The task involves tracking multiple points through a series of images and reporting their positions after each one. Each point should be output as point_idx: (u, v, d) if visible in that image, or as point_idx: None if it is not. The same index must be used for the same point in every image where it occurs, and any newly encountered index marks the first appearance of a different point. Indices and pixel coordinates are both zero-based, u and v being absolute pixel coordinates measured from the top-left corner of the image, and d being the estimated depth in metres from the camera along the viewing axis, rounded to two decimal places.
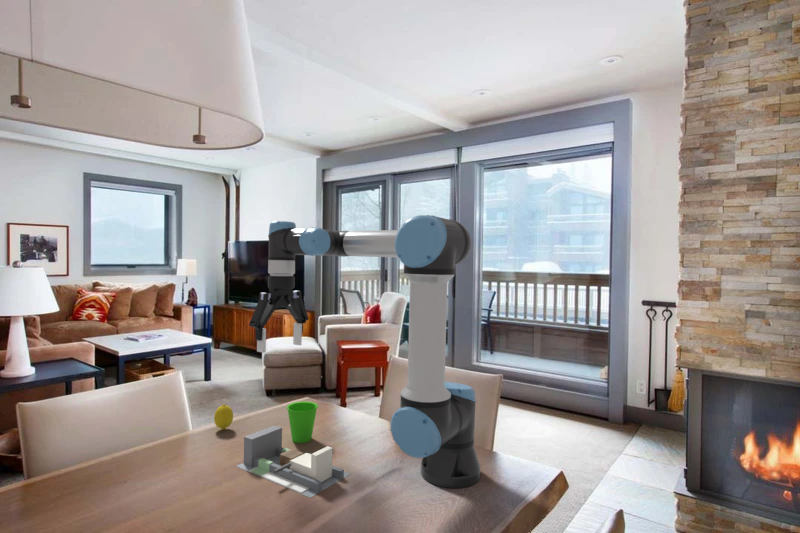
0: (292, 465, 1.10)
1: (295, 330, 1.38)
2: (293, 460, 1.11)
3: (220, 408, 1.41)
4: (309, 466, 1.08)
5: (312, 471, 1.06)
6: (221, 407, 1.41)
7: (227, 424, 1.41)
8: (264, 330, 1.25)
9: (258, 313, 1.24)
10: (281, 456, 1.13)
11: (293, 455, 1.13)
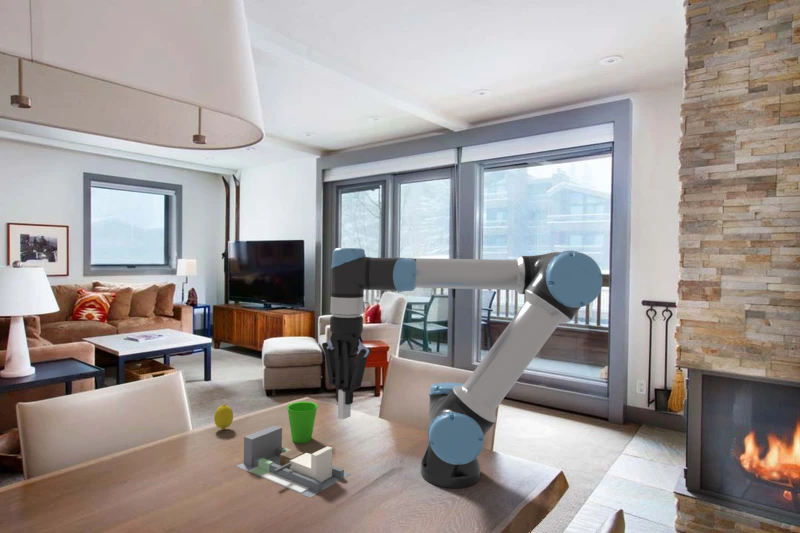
0: (292, 465, 1.10)
1: None
2: (293, 460, 1.11)
3: (220, 408, 1.41)
4: (309, 466, 1.08)
5: (312, 471, 1.06)
6: (221, 407, 1.41)
7: (227, 424, 1.41)
8: (339, 391, 1.04)
9: None
10: (281, 456, 1.13)
11: (293, 455, 1.13)
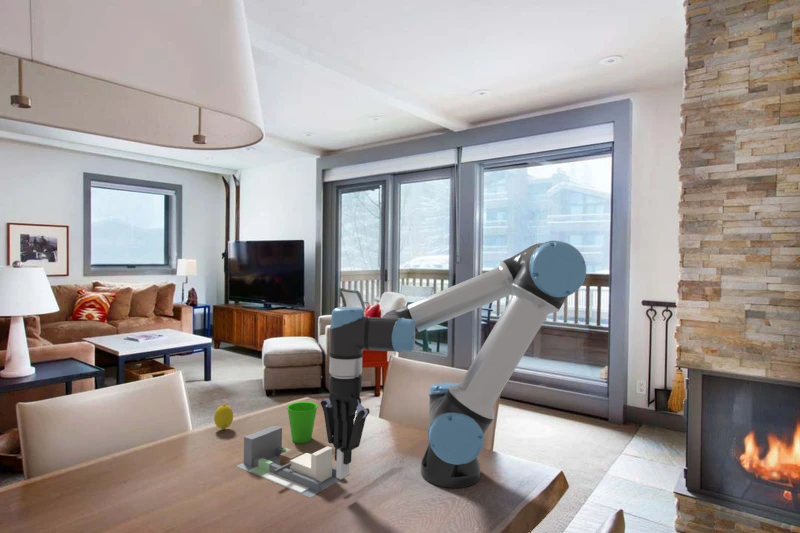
0: (292, 465, 1.10)
1: None
2: (293, 460, 1.11)
3: (220, 408, 1.41)
4: (309, 466, 1.08)
5: (312, 471, 1.06)
6: (221, 407, 1.41)
7: (227, 424, 1.41)
8: (337, 451, 1.04)
9: None
10: (281, 456, 1.13)
11: (293, 455, 1.13)
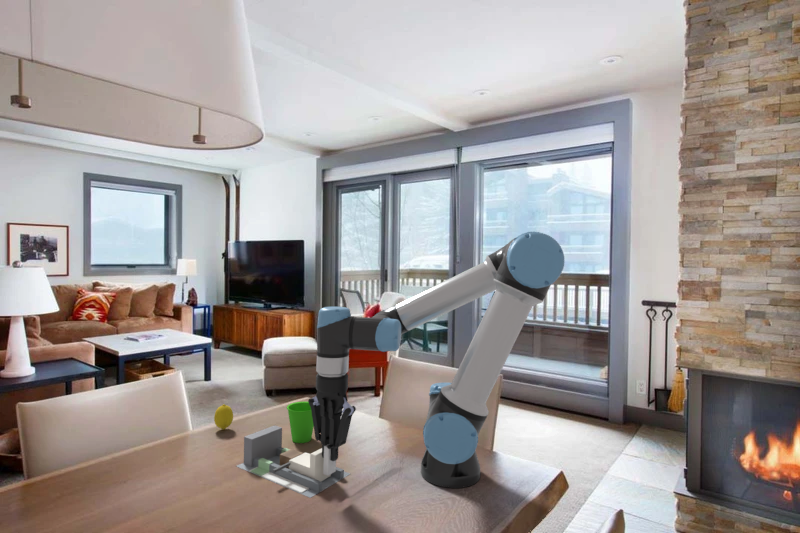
0: (291, 465, 1.10)
1: None
2: (292, 460, 1.11)
3: (220, 408, 1.41)
4: (308, 466, 1.08)
5: (311, 470, 1.07)
6: (221, 407, 1.41)
7: (227, 424, 1.41)
8: (325, 448, 1.06)
9: None
10: (281, 456, 1.13)
11: (293, 455, 1.13)
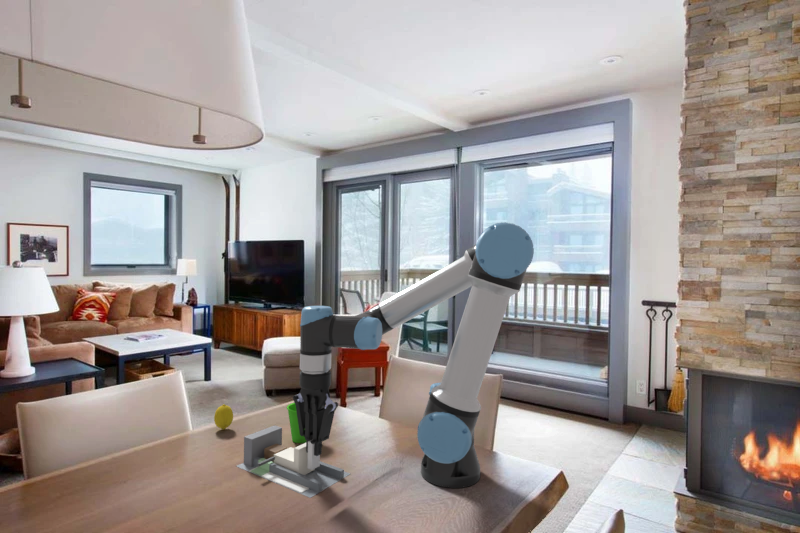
0: (276, 459, 1.13)
1: None
2: (277, 454, 1.14)
3: (220, 408, 1.41)
4: (292, 460, 1.11)
5: (295, 464, 1.10)
6: (221, 407, 1.41)
7: (227, 424, 1.41)
8: (308, 443, 1.09)
9: None
10: (266, 450, 1.17)
11: (277, 449, 1.16)
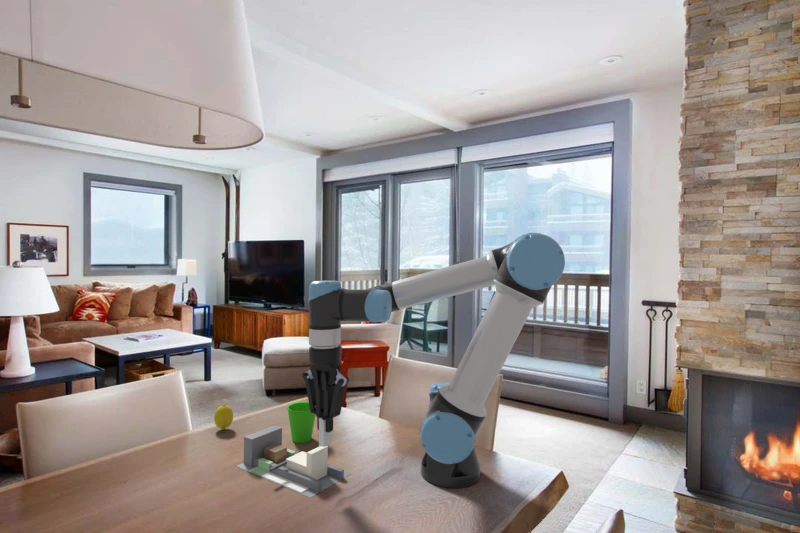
0: (288, 464, 1.11)
1: None
2: (289, 458, 1.11)
3: (220, 408, 1.41)
4: (304, 464, 1.09)
5: (307, 469, 1.07)
6: (221, 407, 1.41)
7: (227, 424, 1.41)
8: (319, 420, 1.07)
9: None
10: (266, 450, 1.17)
11: (277, 449, 1.16)
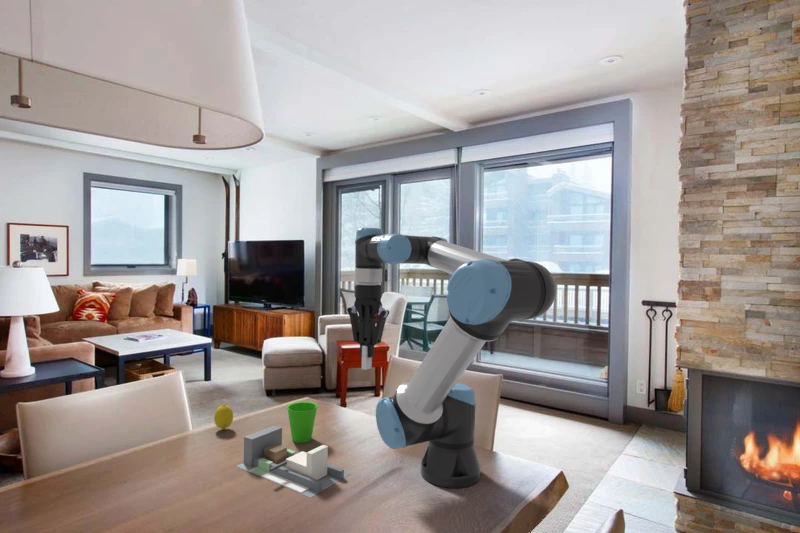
0: (288, 464, 1.11)
1: None
2: (289, 458, 1.11)
3: (220, 408, 1.41)
4: (304, 464, 1.09)
5: (307, 469, 1.07)
6: (221, 407, 1.41)
7: (227, 424, 1.41)
8: (362, 347, 1.26)
9: None
10: (266, 450, 1.17)
11: (277, 449, 1.16)
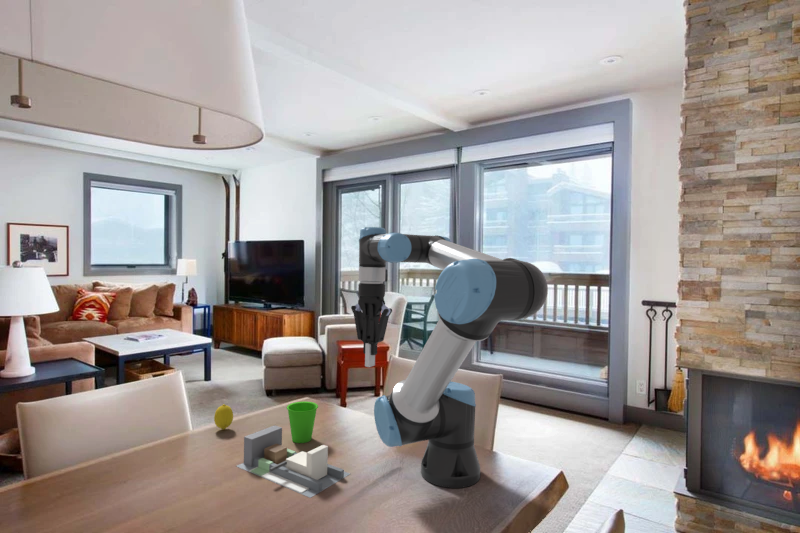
0: (288, 464, 1.11)
1: None
2: (289, 458, 1.11)
3: (220, 408, 1.41)
4: (304, 464, 1.09)
5: (307, 469, 1.07)
6: (221, 407, 1.41)
7: (227, 424, 1.41)
8: (366, 344, 1.27)
9: None
10: (266, 450, 1.17)
11: (277, 449, 1.16)
